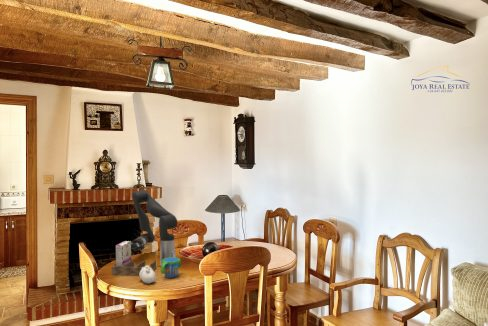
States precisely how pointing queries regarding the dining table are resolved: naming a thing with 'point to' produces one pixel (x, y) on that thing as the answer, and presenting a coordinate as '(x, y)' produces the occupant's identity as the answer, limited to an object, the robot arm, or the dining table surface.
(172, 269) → the snack cup
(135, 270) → the walnut rack
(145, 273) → the white spotted figurine
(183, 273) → the dining table surface
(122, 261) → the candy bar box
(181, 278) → the dining table surface
